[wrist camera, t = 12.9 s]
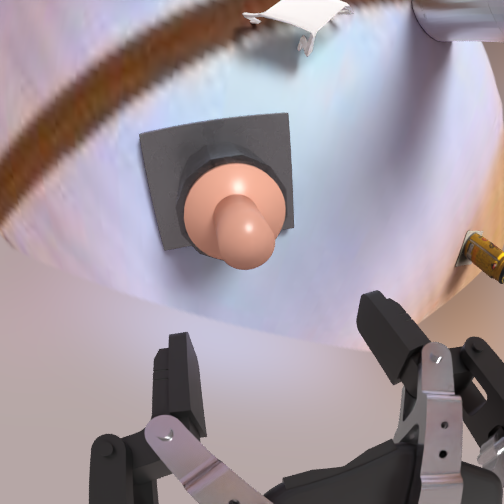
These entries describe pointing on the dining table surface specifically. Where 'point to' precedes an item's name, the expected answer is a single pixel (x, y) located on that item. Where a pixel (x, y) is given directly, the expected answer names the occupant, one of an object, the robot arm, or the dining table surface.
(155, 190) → the flanged pipe socket
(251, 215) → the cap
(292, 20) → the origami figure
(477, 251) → the condiment
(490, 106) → the dining table surface
